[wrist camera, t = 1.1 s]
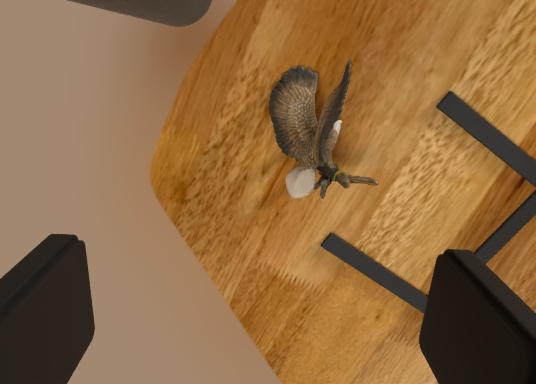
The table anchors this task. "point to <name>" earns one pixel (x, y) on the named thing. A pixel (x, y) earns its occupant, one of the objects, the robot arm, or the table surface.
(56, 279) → the robot arm
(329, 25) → the table surface
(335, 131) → the eagle figurine
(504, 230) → the frame
